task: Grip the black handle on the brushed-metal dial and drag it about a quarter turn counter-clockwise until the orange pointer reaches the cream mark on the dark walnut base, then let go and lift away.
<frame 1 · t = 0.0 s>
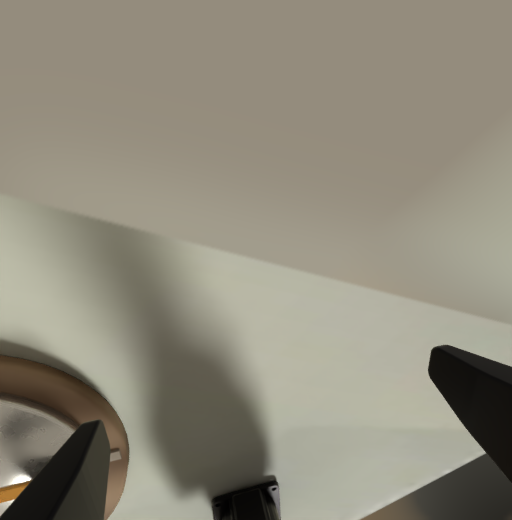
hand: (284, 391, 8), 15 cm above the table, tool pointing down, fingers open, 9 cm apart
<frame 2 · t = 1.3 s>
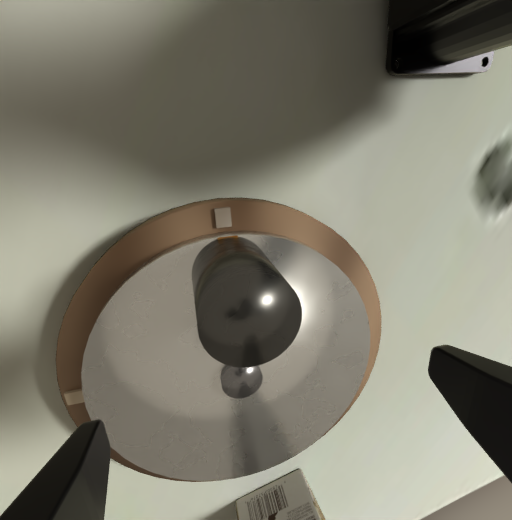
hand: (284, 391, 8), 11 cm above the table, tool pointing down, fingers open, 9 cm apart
dial base: (233, 348, 21), on the table
dial: (247, 399, 17), point 5 cm above the table, hinge at 0.0°
coffee box: (283, 509, 28), on the table
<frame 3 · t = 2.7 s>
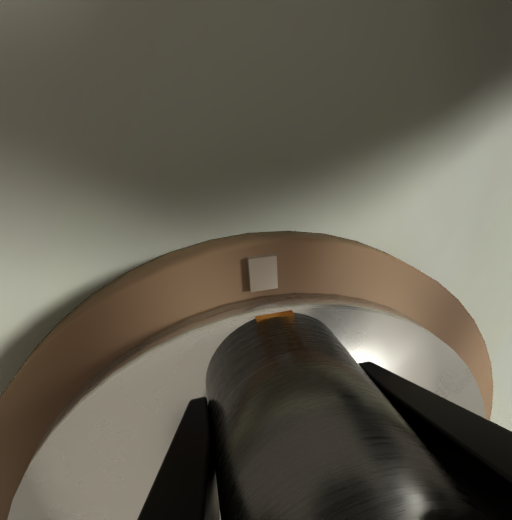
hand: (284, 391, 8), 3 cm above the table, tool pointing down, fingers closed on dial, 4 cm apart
dial base: (264, 455, 14), on the table
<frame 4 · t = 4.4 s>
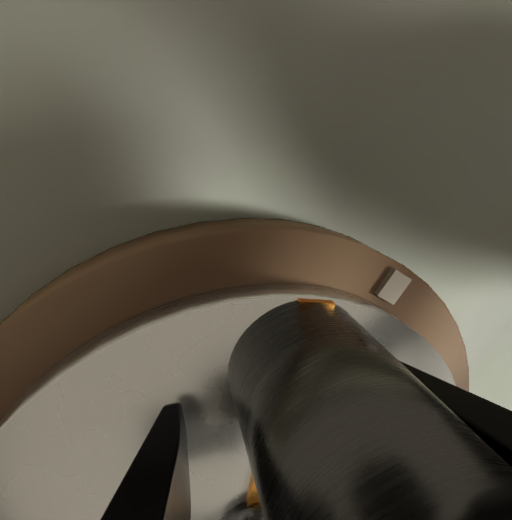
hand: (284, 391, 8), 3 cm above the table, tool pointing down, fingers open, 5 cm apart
dial base: (238, 453, 13), on the table
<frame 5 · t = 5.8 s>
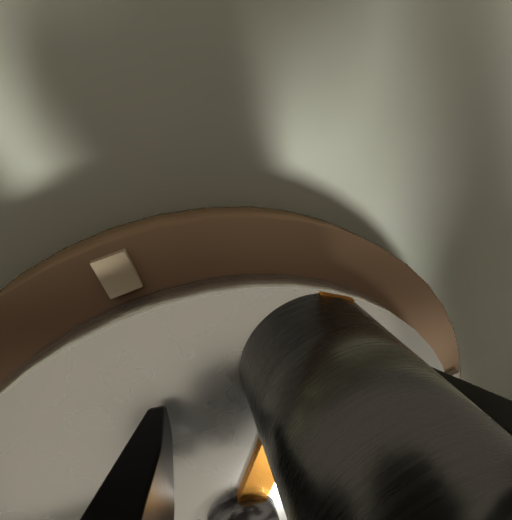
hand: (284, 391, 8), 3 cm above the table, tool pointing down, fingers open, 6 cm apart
dial base: (226, 449, 13), on the table
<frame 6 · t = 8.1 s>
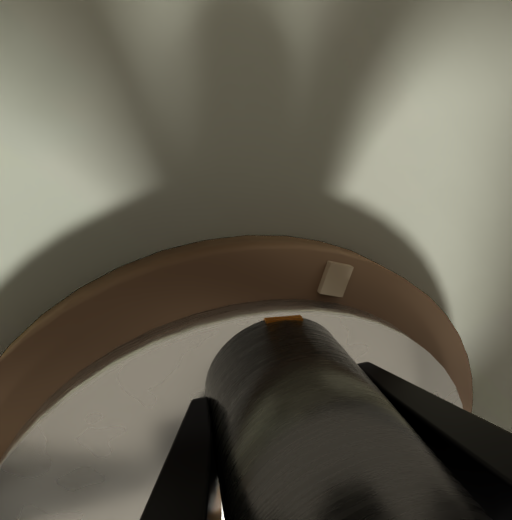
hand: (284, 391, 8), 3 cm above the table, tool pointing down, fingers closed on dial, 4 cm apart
dial base: (244, 463, 13), on the table
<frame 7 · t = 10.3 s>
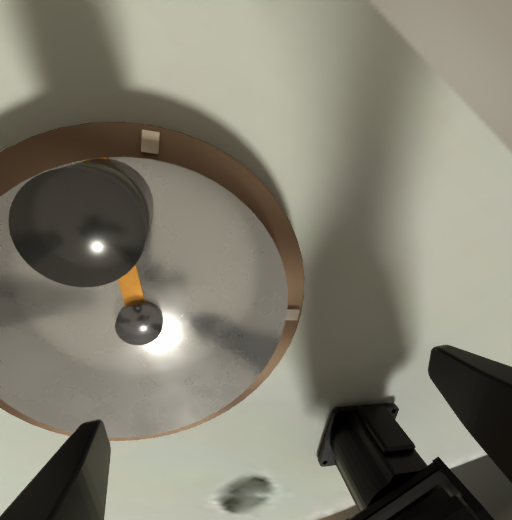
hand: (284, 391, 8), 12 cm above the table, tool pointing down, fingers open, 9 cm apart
dial base: (144, 298, 20), on the table
dial: (136, 341, 16), point 5 cm above the table, hinge at 104.7°
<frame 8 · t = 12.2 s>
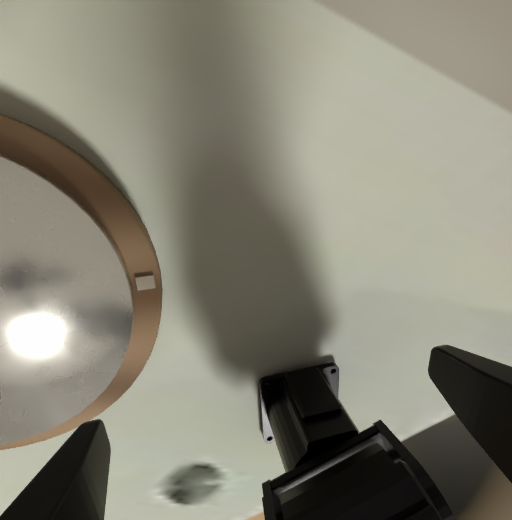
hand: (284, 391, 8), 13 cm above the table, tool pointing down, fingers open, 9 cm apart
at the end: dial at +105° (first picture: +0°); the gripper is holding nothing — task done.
